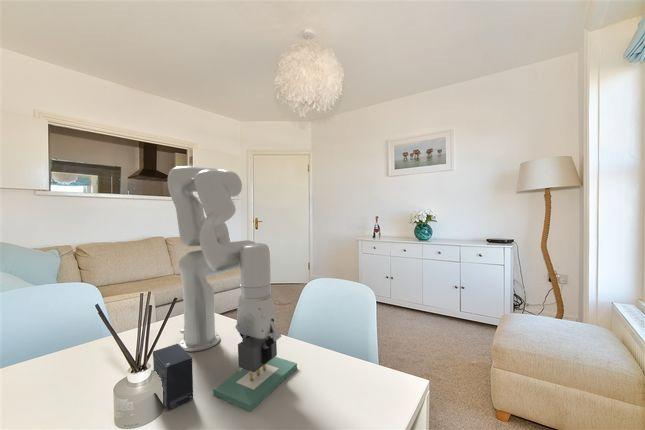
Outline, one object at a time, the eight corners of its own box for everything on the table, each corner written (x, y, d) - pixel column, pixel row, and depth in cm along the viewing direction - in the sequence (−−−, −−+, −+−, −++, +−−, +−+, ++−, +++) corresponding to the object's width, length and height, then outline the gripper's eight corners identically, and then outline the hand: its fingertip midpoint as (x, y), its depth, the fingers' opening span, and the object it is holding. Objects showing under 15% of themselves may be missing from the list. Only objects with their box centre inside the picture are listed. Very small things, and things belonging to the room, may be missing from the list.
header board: (213, 395, 70) (213, 388, 70) (264, 357, 87) (264, 352, 87) (250, 411, 65) (249, 404, 64) (297, 368, 81) (296, 362, 81)
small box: (195, 398, 69) (194, 356, 69) (166, 412, 65) (164, 367, 64) (180, 380, 77) (178, 341, 76) (152, 391, 72) (151, 351, 72)
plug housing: (238, 367, 73) (237, 344, 72) (262, 351, 81) (261, 330, 80) (254, 372, 70) (253, 348, 70) (276, 355, 78) (276, 333, 78)
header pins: (248, 380, 73) (248, 367, 73) (264, 368, 78) (263, 356, 78) (251, 381, 73) (251, 368, 73) (266, 369, 78) (266, 357, 78)
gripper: (221, 290, 76) (224, 357, 76) (272, 299, 67) (275, 374, 68) (242, 283, 82) (244, 345, 83) (291, 290, 74) (293, 359, 74)
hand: (258, 358), depth 75 cm, fingers closed on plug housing, 5 cm apart
